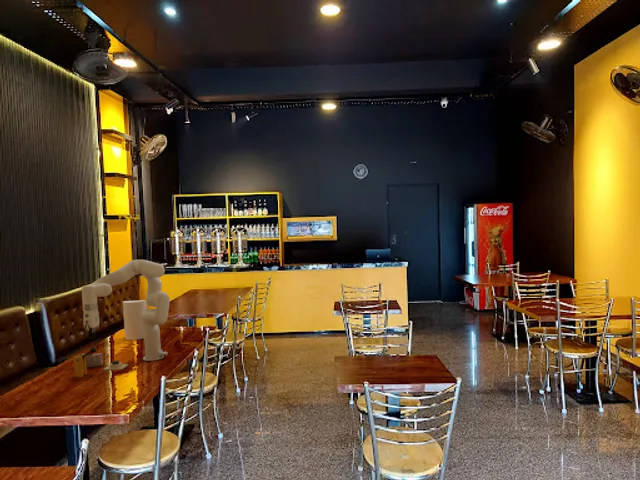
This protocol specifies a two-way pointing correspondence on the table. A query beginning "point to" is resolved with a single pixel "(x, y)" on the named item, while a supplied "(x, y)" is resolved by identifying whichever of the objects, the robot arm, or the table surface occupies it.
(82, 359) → the press lever
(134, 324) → the cylinder
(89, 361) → the food item
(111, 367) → the control block
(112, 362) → the stop button
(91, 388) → the table surface
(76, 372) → the lever bracket
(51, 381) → the table surface
